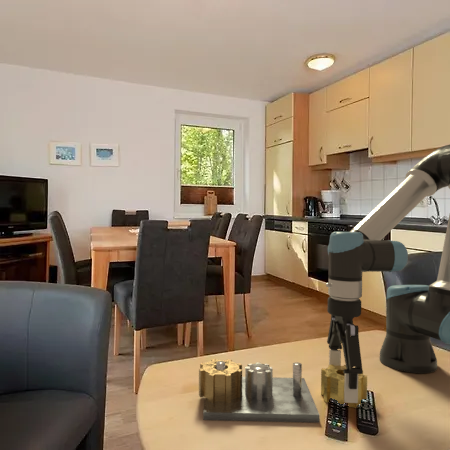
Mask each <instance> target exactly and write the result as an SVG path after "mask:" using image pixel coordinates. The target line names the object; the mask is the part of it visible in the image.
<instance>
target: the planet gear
mask: <svg viewBox="0 0 450 450" xmlns="http://www.w3.org/2000/svg"><path fill="white" fill-rule="evenodd" d="M344 369H346V364H343V365H341V366H334V365H333V364H332V365H329V364H328V367H326V368H324V367H322V368H321V373H320V375H321V376H320V377H321V378H320V384H321V385H320V395H321V396H323V401H324V402H325V403H326V404H328V402H329V399H330V398H332V399H335V400H337V401H338V403H340V404H344V403H345V402H344V382H345V373H344V372H343V371H344ZM362 399H367V400H368V375H366V374H364V372H363V373H362V374H358V403H348V405H349V407H348V408H355V409H356V406H357V405H359V404H361V400H362ZM329 403H330V402H329ZM361 405H362V404H361Z"/></svg>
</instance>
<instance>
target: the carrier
mask: <svg viewBox="0 0 450 450" xmlns="http://www.w3.org/2000/svg"><path fill="white" fill-rule="evenodd" d="M244 368H245V372H244V373H245V375H244V376H242V397H241V398H235V399H232V400H231V402H230V403H226V402H224V401H215V402H214V403H212V402H208V399H207V398H205V402H204V407H203V412H202V414H203V417H202V420H203V421H233V422H234V421H237V422H239V421H240V422H241V421H242V422H243V421H244V422H272V423H273V422H274V423H275V422H278V423H280V422H281V423H283V422H286V423H315V424H316V423H318V424H319V423H320V417H321V415H320V413H319V410H318V408H317V405H316V404H315V401H314V399H313V396H312V394H311V391H310V388H309V386H308V384H307V382H306V380H305V377H302V375H303V373H302V372H303V370H302V369H303V367H302V362H297V361H296V362H295V361H294V362H292V377H276V376H275V377H273V375H274V372H273V370H274V369H273V366H270V364H269V363H261V362H255V363H248V364H247V366H245V367H244ZM217 370H225V362H224V361H218V362H217Z"/></svg>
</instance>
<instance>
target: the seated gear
mask: <svg viewBox="0 0 450 450" xmlns="http://www.w3.org/2000/svg"><path fill="white" fill-rule="evenodd" d="M218 361H224V362H225V370H217V362H218ZM199 367H200V368H198V397H200V398H205V399H206V398H207V399H208V402H212V403H214V402H215V401H224V402H226V403H230V402H231V400H232V399H235V398H241V397H242V377H243V365H242V363H241V362H239V363H236V362H235V361H233V360H232V359H230V358H229V359H226V360H224V359H217V358H212V359H210V361H207V362H203V361H202V362H201V363H200V364H199Z"/></svg>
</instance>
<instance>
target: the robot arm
mask: <svg viewBox="0 0 450 450" xmlns="http://www.w3.org/2000/svg"><path fill="white" fill-rule="evenodd" d="M404 178H405V179H404V180H403V181H402V182H401V183H400V184H399V185H397V186H396V188H394V189H393V190H392V191H391V192H390V193H389V194H388V195H387V196H386V197H385V198H384V199H383V200H381V201H380V203H378V204H377V205H376V206H375V207H374V208H373V209H371V211H370V212H369V213H368V214H367V215H366V216H365V217H364V218H362V220H360V221H359V222H358V223H357V224H356V225H355V226H354V227H353V228H352V229H351V230H349V231H333V232H331V234H330V235H329V242H328V246H327V255H328V273H327V274H328V282H326V283H325V286H326V288H327V294H328V295H329V297H328V298H327V308H326V309H327V313H328V314H329V315H330V323H329V329H328V335H327V339H326V342H327V344H328V348H329V353H328V354H329V355H328V357H329V359H328V360H329V361H328V365H332V364H333V365H334V366H342V365H341V363H342V362H341V361H342V360H341V359H342V352H343V357H344V363H345V364H344V365H346V369H344V371H343V372H344V373H345V382H344V402H345V403H358V374H362V373H363V374H364V370H363V363H362V355H361V346H360V338H359V337H360V336H359V333H360V331H359V330H360V329H359V325H356V324H354V318H359V317H361V316H362V300H361V298H362V296H363V273H367V272H369V273H370V272H372V273H373V272H376V273H377V272H381V273H383V272H385V273H386V272H387V273H392V272H398V271H402V270H403V269H404V268H405V267H406V266H407V264H408V261H409V259H408V258H409V257H408V256H409V254H408V253H409V251H408V248H407V247H406V246H405V244H404V243H402V242H401V241H398V240H390V239H387V240H383V239H384V238H385V237H386V236H387V235H388V234H389V233H390V232H391V231H392V230H393V229H394V228H395V227H396V226H397V225H399V223H400V222H401V221H402V220H404V218H406V216H408V215H409V214H410V213H411V212H412V211H413V210H414V209H415V208H416V207H417V206H418V205H419V204H420V203H421V202H422V201H423V200H424V199H425V198H426V197H431V196H434V195H435V193H437V192H438V191H439V190H441V189H443V188H446V187H448V189H449V190H450V144H447V145H443V146H441V147H439V148H436V149H435V150H433V151H431V152H430V153H429V154H427V155H425V157H423V158H422V159H420V161H418V162H417V163H416V164H415V165H413V167H411V169H409V170H408V171H407V172H406V174H405V177H404ZM442 247H443V248H442V252H441V258H440V263H439V268H438V272H437V273H438V274H437V278H436V281H434V282H432V283H431V284H429V285H427V284H395V285H390V286H389V287H388V288H387V290H386V298H385V305H386V306H385V313H386V317H385V322H386V323H385V324H386V325H385V326H386V331H385V337H384V340H383V341H382V345H381V348H380V351H379V361H380V362H381V363H382V364H383V365H384V366H386V367H388V368H391V369H394V370H397V371H400V372H405V373H413V374H429V373H434V372H436V371H437V370H438V360H437V355H436V353H435V351H434V350H435V349H434V347H433V343H432V341H431V340H432V339H435V340H438V341H441V342H442V343H444V344H446V345H450V214H449V215H448V221H447V227H446V232H445V238H444V243H443V246H442ZM431 338H432V339H431Z"/></svg>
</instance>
